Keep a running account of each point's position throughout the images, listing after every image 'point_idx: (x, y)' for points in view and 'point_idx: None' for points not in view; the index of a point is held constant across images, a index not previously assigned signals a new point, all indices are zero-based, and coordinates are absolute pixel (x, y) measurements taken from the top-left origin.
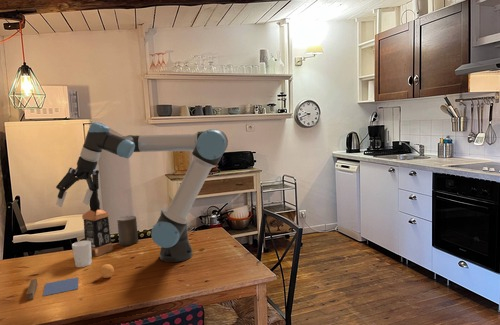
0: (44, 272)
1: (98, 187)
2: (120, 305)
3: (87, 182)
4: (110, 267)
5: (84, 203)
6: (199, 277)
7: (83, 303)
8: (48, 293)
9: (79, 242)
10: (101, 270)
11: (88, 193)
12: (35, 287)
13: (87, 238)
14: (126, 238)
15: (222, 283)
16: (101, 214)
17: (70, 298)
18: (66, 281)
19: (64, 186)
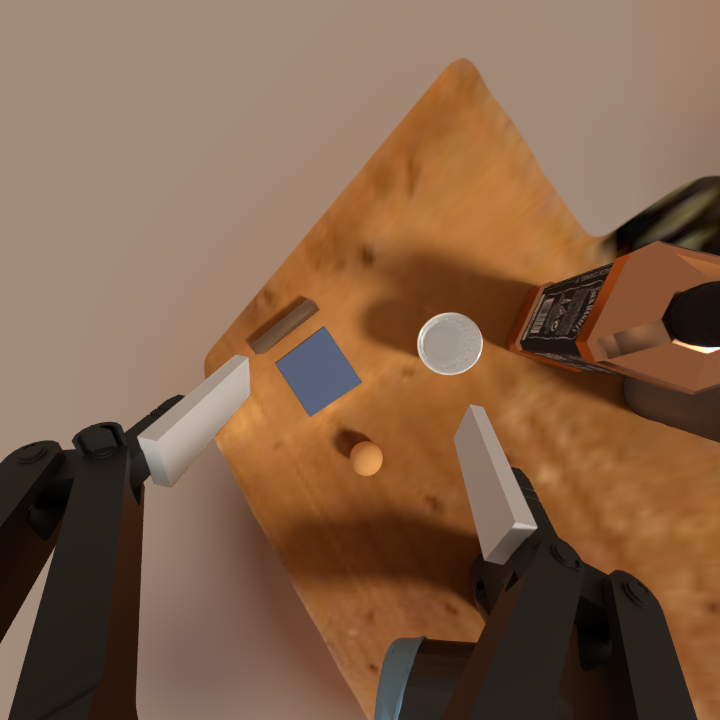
0: (382, 271)
1: (604, 645)
2: (266, 527)
3: (489, 658)
4: (361, 474)
5: (462, 420)
6: None
7: (263, 459)
8: (284, 368)
9: (469, 321)
10: (351, 454)
11: (486, 504)
12: (292, 328)
13: (552, 299)
14: (647, 402)
15: (364, 697)
16: (644, 374)
17: (276, 424)
18: (337, 368)
19: (50, 542)
